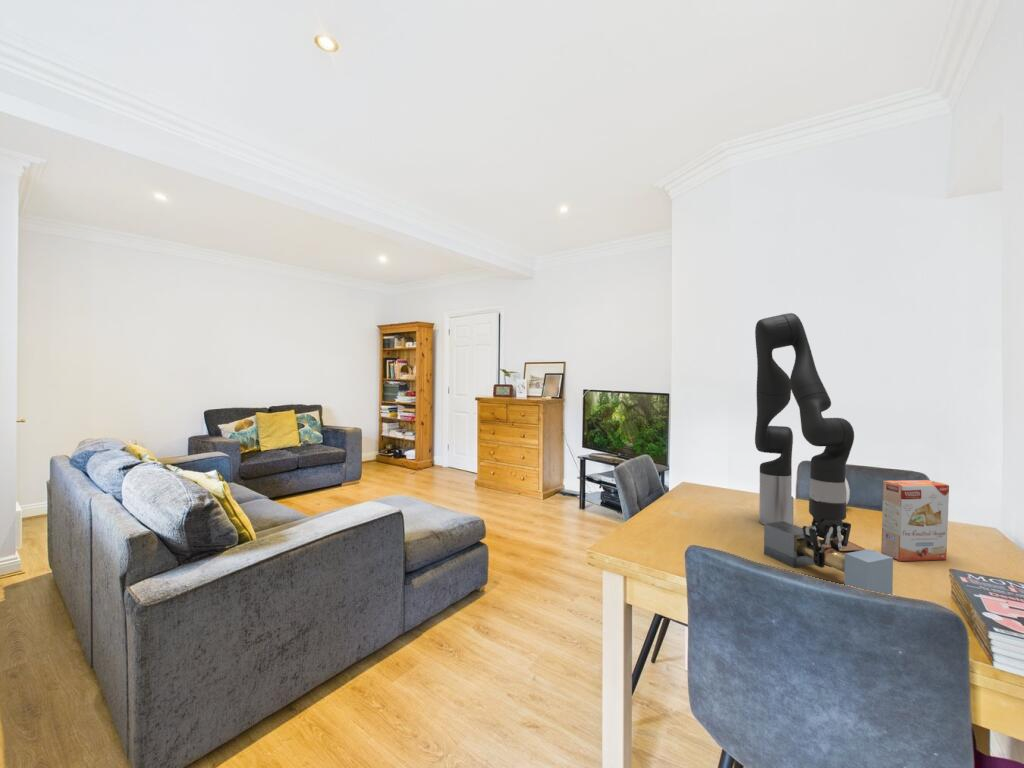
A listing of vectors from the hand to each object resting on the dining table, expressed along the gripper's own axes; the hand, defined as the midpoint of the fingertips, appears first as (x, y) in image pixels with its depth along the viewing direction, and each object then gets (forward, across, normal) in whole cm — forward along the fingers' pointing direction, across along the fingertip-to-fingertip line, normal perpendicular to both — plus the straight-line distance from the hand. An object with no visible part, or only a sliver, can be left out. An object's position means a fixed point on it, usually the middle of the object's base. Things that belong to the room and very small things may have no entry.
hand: (826, 564), depth 107 cm
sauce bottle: (+3, -57, -38) cm, 68 cm away
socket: (+3, 0, +10) cm, 10 cm away
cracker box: (+3, -34, 0) cm, 34 cm away
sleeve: (+3, 0, -10) cm, 11 cm away
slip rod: (0, 0, -3) cm, 3 cm away
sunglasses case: (+4, -17, -6) cm, 18 cm away
